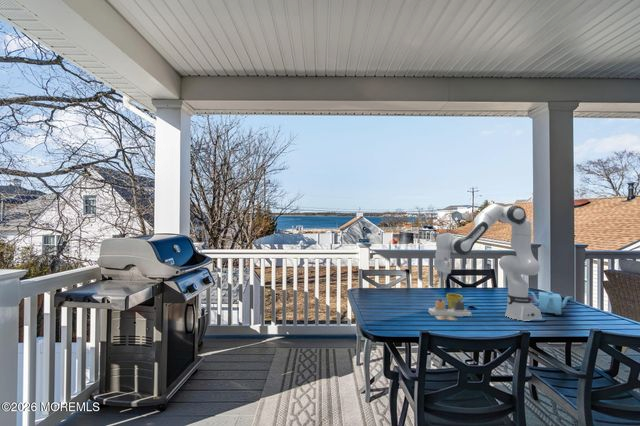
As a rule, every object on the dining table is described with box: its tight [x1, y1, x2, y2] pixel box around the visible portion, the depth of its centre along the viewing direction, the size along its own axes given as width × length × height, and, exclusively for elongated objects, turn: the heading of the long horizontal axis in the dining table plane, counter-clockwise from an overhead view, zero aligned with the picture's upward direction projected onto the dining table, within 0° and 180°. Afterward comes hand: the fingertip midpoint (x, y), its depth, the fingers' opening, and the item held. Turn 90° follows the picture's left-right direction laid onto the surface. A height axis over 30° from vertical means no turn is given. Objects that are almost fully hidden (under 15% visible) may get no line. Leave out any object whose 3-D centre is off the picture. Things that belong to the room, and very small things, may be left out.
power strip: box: [427, 306, 472, 317], centre depth 216 cm, size 25×7×4 cm, turn 88°
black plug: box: [454, 299, 465, 310], centre depth 216 cm, size 5×4×8 cm
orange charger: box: [434, 297, 446, 309], centre depth 217 cm, size 5×4×8 cm
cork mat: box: [433, 315, 459, 321], centre depth 207 cm, size 12×7×1 cm, turn 88°
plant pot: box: [445, 293, 464, 309], centre depth 229 cm, size 10×10×10 cm
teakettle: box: [528, 290, 573, 315], centre depth 226 cm, size 25×25×15 cm
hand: (441, 278), depth 215 cm, fingers open, 8 cm apart
